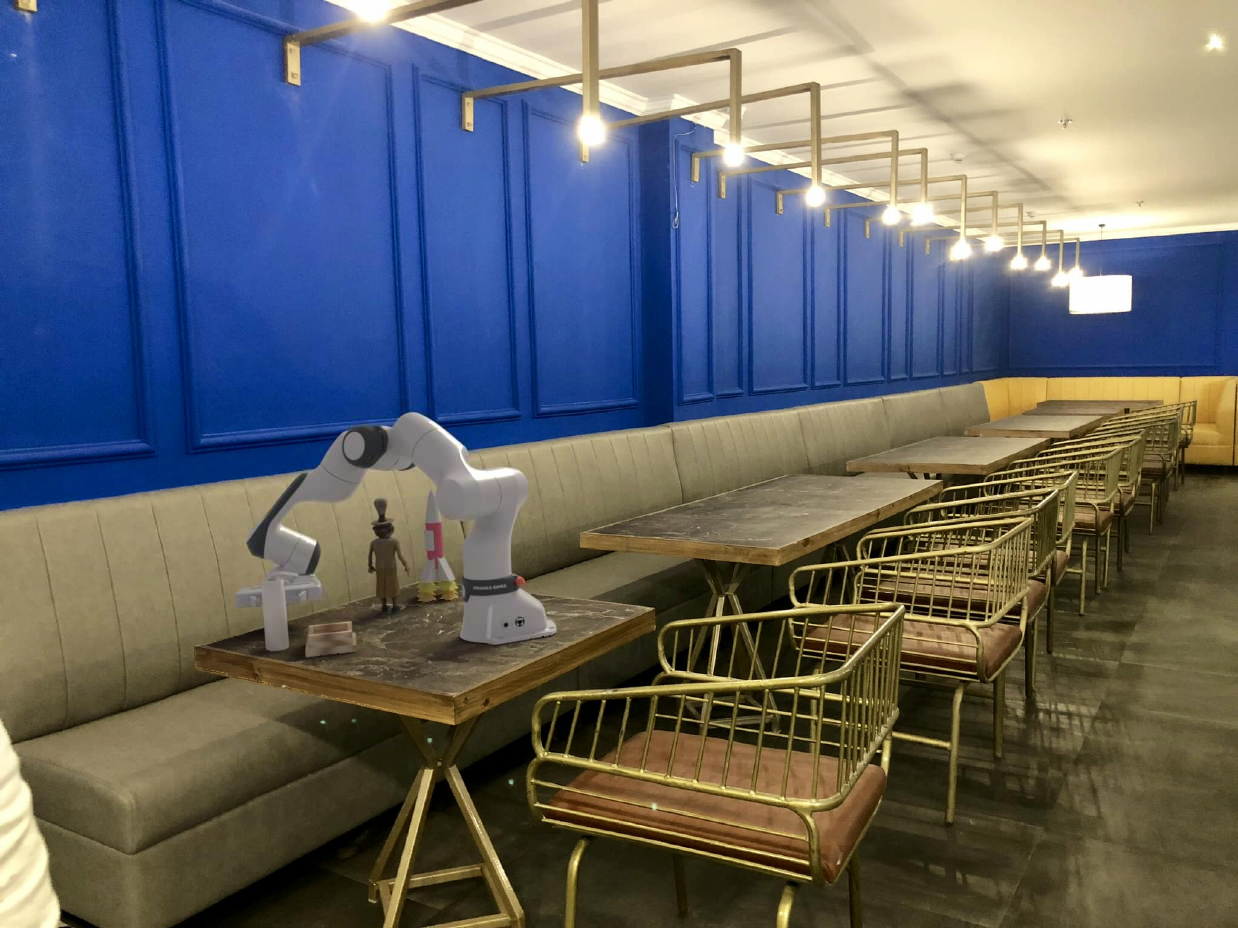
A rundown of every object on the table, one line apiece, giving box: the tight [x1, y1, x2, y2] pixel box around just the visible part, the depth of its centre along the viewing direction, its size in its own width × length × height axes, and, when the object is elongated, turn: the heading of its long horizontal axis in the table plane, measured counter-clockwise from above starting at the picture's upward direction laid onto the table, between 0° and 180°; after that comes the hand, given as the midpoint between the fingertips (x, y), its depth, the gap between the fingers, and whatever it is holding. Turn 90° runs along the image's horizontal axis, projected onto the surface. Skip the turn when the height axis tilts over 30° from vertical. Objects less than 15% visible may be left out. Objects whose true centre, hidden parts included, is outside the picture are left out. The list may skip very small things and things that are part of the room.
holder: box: [304, 620, 358, 658], centre depth 226 cm, size 11×11×4 cm
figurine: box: [367, 497, 411, 614], centre depth 258 cm, size 11×9×30 cm
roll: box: [260, 577, 290, 652], centre depth 227 cm, size 5×5×16 cm
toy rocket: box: [416, 488, 459, 603], centre depth 271 cm, size 12×12×30 cm
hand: (277, 601), depth 236 cm, fingers open, 8 cm apart
